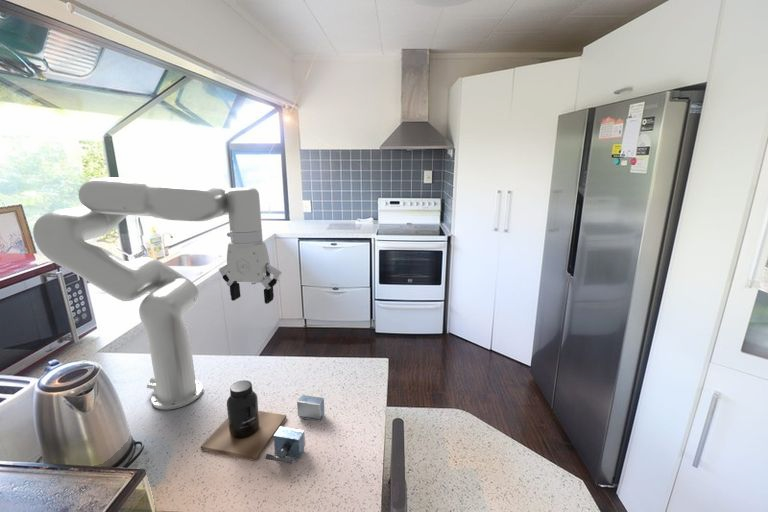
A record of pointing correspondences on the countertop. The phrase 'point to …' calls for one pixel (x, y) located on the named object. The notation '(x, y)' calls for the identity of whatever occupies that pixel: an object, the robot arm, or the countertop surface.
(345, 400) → the countertop surface
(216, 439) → the walnut board
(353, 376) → the countertop surface
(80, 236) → the robot arm
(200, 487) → the countertop surface
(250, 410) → the supplement bottle
